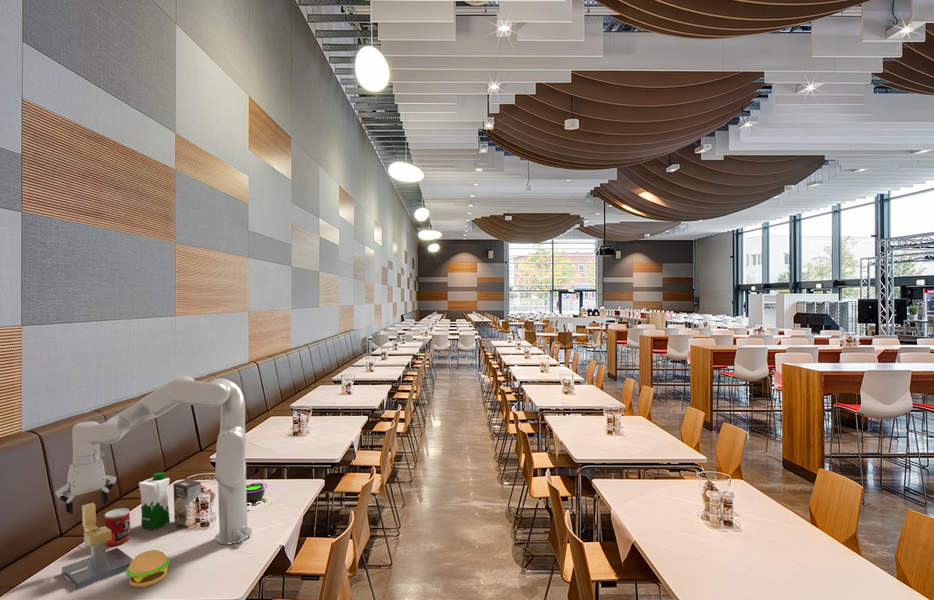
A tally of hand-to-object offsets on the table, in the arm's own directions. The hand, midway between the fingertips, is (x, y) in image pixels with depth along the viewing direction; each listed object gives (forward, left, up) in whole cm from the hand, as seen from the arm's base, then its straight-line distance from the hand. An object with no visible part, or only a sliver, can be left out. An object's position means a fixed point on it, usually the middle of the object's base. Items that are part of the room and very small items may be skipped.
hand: (87, 508), depth 176 cm
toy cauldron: (0, -60, -19) cm, 63 cm away
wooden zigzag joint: (-5, 0, -9) cm, 10 cm away
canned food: (+10, -12, -19) cm, 25 cm away
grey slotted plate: (-8, 0, -19) cm, 21 cm away
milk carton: (+13, -26, -19) cm, 35 cm away
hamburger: (-28, -8, -19) cm, 35 cm away
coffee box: (+5, -35, -19) cm, 40 cm away
